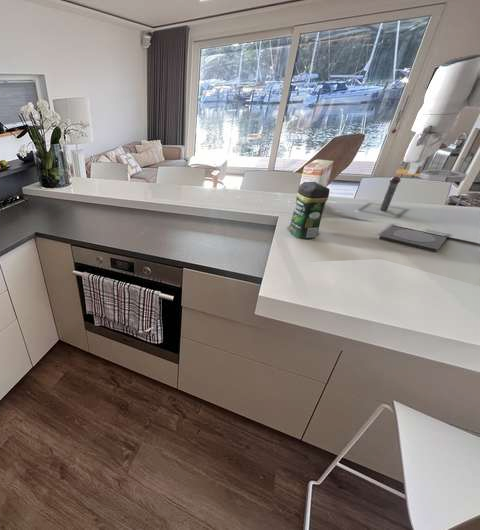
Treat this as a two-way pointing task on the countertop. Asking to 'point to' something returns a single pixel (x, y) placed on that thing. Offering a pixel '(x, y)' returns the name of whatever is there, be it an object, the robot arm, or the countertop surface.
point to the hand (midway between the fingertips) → (413, 172)
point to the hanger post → (389, 193)
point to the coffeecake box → (317, 172)
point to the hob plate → (414, 238)
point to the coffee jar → (308, 210)
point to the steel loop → (436, 175)
